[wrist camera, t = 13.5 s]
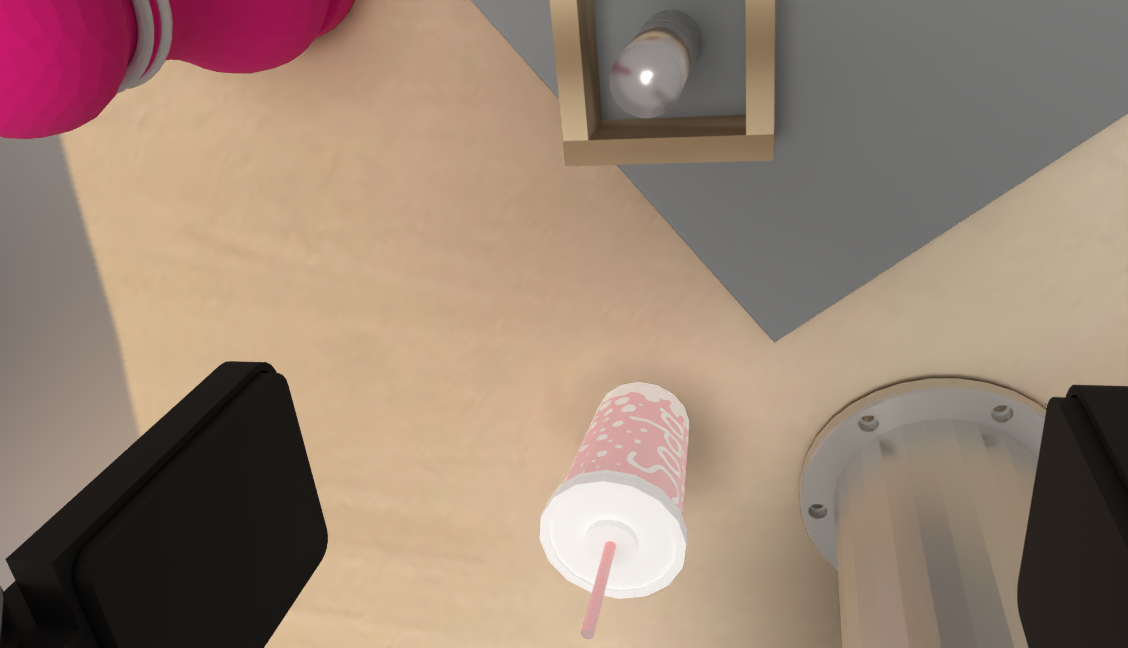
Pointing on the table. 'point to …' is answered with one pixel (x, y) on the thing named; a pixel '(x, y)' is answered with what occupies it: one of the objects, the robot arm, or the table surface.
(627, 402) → the beverage cup
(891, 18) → the board
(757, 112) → the link
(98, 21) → the pepper mill
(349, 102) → the table surface
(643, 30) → the grey rounded rod
